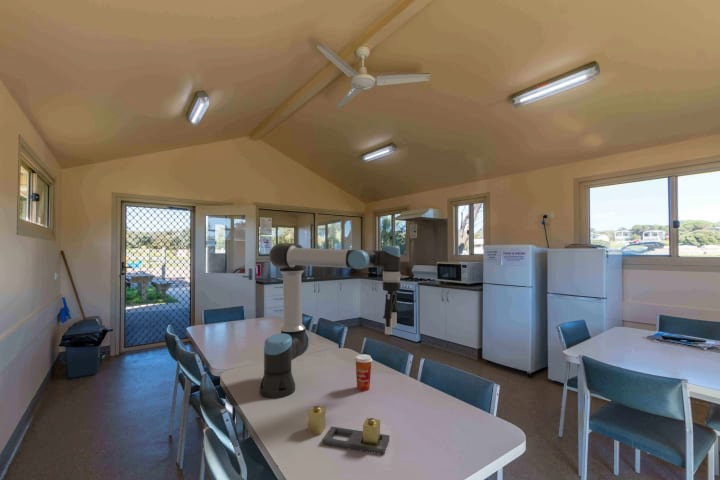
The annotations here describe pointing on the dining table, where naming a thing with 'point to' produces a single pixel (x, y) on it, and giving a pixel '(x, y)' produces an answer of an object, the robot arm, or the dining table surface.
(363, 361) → the paper cup
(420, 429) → the dining table surface
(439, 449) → the dining table surface
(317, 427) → the yellow square bottle
